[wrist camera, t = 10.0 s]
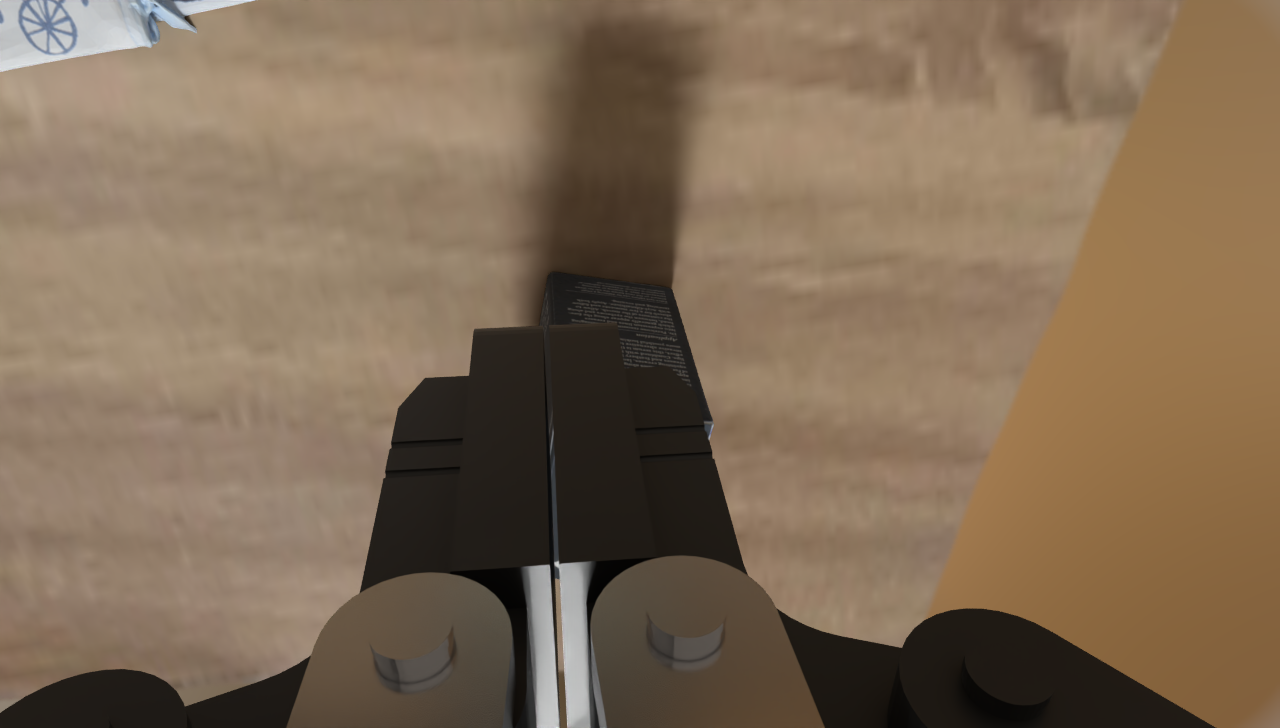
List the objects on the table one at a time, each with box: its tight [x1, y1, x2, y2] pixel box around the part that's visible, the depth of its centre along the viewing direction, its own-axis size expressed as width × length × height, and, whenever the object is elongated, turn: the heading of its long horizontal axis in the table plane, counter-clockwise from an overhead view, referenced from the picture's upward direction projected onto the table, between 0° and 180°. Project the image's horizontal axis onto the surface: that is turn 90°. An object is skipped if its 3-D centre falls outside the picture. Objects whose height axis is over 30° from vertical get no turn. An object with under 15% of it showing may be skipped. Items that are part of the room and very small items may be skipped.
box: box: [539, 272, 714, 579], centre depth 37 cm, size 8×6×11 cm
